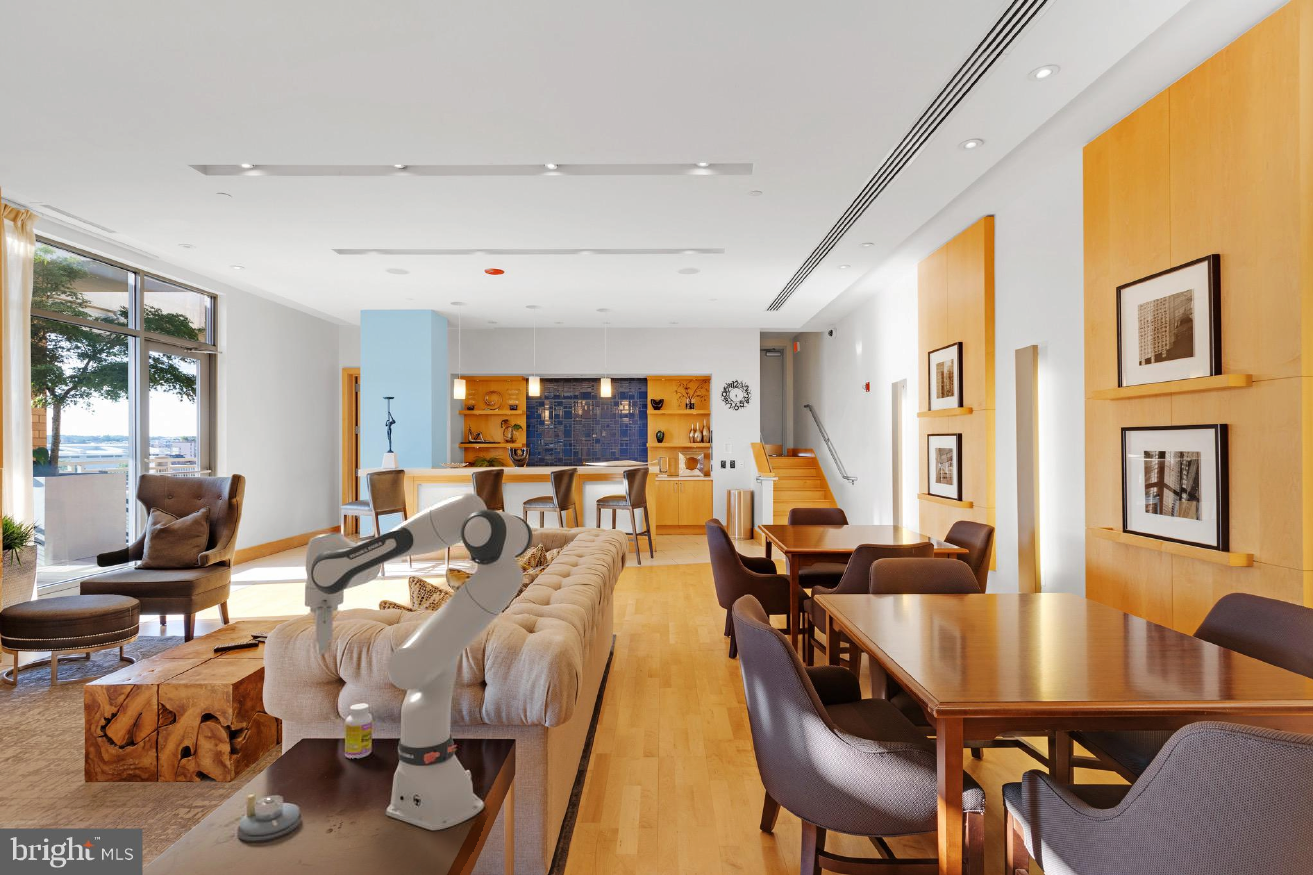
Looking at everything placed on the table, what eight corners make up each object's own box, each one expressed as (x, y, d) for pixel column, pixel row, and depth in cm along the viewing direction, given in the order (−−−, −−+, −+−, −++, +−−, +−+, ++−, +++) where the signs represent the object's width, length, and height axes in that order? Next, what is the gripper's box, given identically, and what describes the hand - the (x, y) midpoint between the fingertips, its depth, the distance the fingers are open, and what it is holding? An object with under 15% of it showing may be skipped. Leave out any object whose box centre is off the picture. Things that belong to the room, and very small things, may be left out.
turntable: (295, 829, 145) (296, 804, 145) (234, 839, 141) (235, 813, 141) (302, 804, 155) (302, 781, 156) (245, 813, 152) (246, 789, 152)
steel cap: (280, 820, 147) (281, 801, 147) (252, 824, 145) (253, 806, 145) (284, 808, 151) (284, 790, 152) (257, 812, 150) (258, 794, 150)
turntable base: (311, 825, 149) (311, 820, 149) (251, 849, 140) (251, 844, 140) (286, 807, 157) (286, 803, 157) (228, 829, 147) (228, 824, 147)
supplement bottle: (361, 760, 182) (362, 711, 182) (339, 758, 183) (340, 709, 183) (376, 750, 188) (377, 702, 189) (355, 748, 189) (356, 701, 190)
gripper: (339, 603, 165) (338, 661, 165) (336, 589, 184) (335, 641, 183) (310, 605, 162) (308, 664, 162) (310, 591, 181) (309, 644, 180)
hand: (323, 652), depth 173 cm, fingers closed
